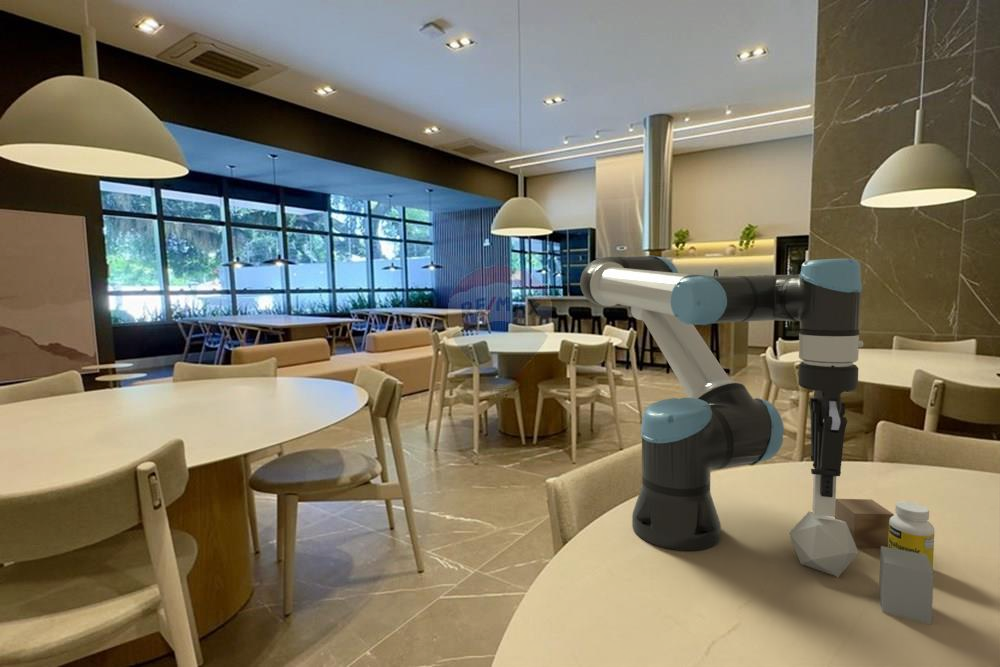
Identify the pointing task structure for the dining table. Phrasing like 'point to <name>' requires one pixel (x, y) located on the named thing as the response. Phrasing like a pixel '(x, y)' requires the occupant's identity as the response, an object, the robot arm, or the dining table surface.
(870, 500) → the walnut block
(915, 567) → the grey block
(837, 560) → the die
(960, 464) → the dining table surface
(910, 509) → the supplement bottle
